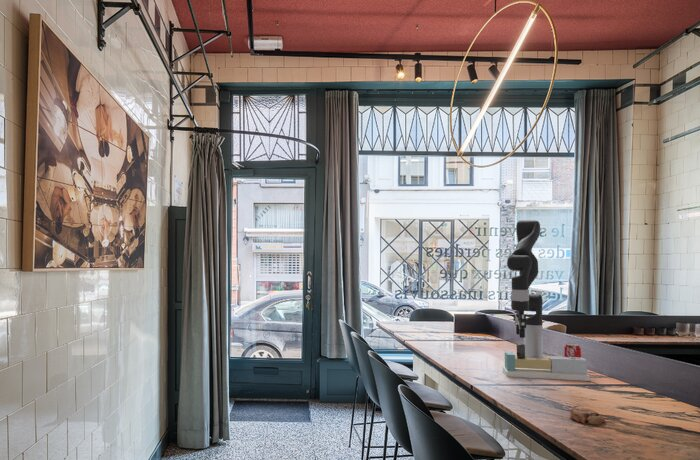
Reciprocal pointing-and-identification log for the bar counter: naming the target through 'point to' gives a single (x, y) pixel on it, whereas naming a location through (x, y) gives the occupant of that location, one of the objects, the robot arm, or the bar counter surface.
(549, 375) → the board
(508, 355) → the socket
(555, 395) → the bar counter surface
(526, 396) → the bar counter surface
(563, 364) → the steel sleeve
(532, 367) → the tan knobbed slider
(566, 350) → the soda can
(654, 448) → the bar counter surface
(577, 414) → the cookie
